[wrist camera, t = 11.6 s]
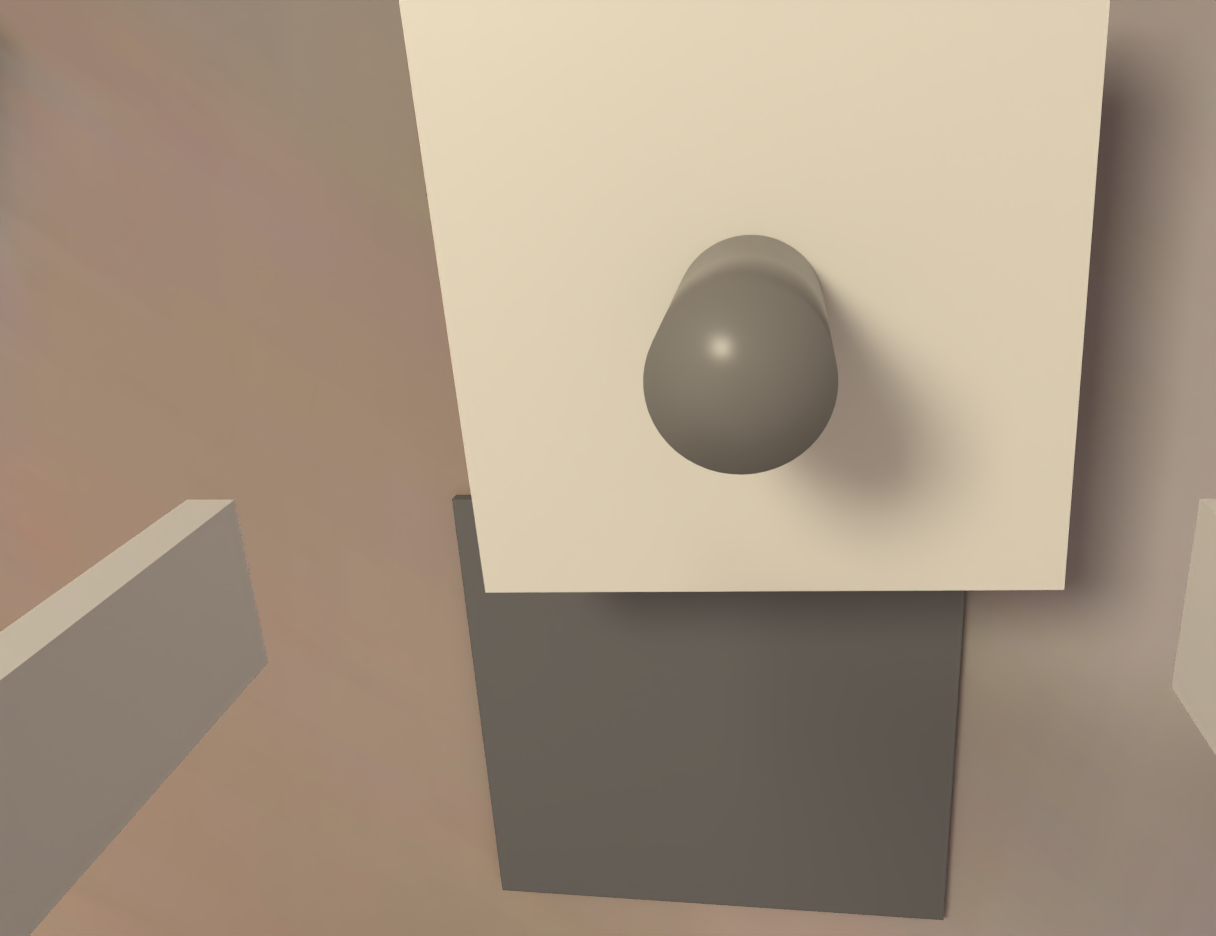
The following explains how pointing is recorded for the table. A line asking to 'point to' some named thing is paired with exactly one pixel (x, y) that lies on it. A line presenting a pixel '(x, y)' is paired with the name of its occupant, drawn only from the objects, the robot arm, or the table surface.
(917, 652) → the mat
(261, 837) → the table surface
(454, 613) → the table surface
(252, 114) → the table surface
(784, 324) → the lid
